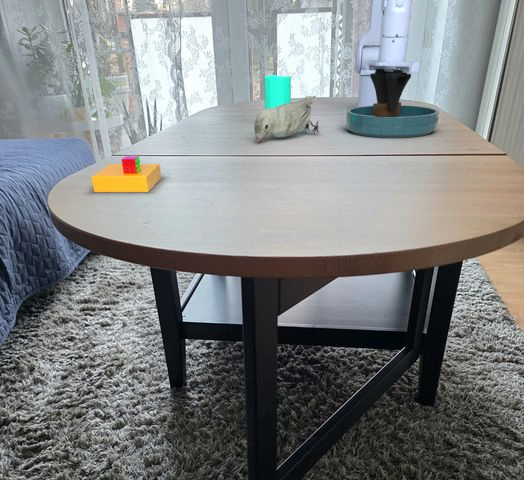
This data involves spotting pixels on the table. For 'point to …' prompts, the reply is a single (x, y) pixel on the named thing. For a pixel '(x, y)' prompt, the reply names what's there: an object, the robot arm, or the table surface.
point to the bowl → (392, 122)
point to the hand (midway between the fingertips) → (387, 108)
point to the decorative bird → (285, 119)
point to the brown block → (385, 110)
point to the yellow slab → (127, 176)
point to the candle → (277, 90)
